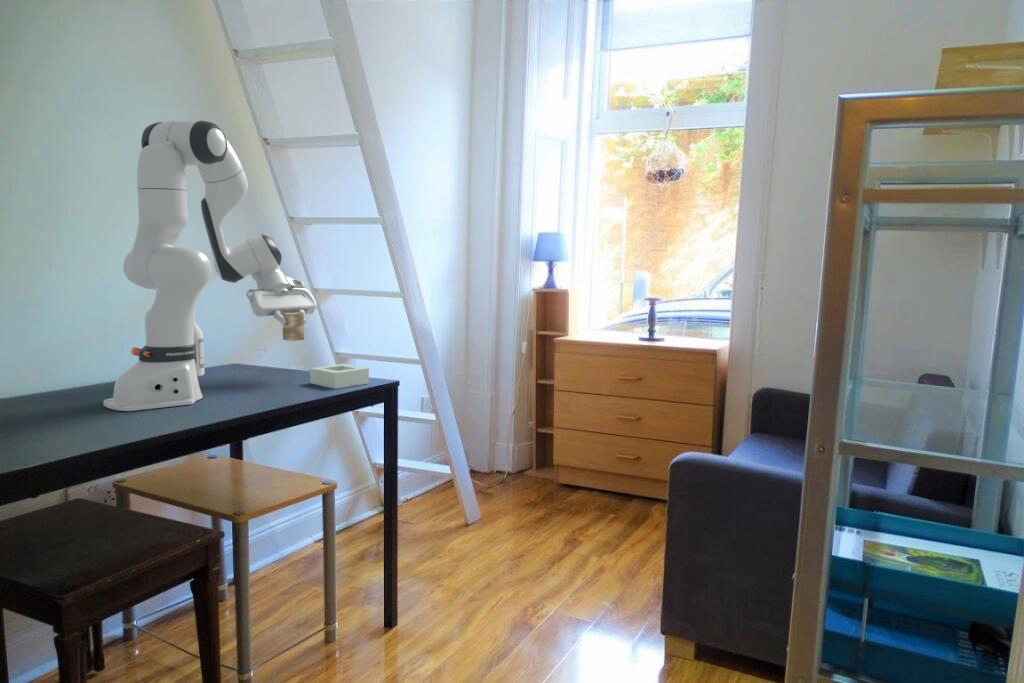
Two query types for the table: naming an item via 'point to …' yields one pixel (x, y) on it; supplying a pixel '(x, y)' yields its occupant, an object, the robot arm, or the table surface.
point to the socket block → (339, 376)
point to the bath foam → (199, 349)
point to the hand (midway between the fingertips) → (294, 323)
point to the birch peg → (294, 326)
